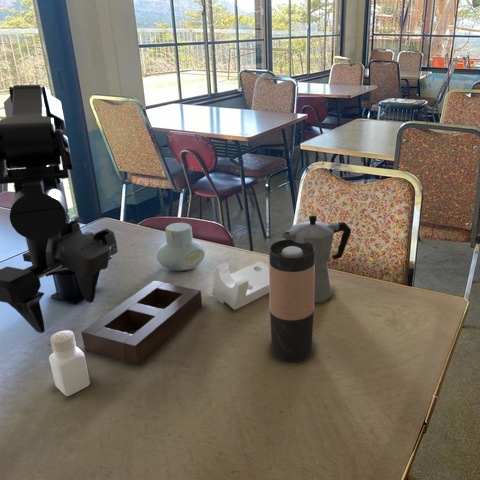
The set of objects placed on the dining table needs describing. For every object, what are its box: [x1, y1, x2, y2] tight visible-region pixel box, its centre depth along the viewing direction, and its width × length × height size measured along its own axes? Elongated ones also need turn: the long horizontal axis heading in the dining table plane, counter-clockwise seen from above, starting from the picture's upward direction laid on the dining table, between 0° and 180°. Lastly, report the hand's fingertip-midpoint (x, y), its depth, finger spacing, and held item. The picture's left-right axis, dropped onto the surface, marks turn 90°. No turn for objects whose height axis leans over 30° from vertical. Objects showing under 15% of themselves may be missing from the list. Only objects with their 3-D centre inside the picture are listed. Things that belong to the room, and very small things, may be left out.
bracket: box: [211, 260, 269, 311], centre depth 102 cm, size 13×7×8 cm, turn 139°
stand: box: [81, 280, 203, 366], centre depth 90 cm, size 11×20×4 cm, turn 161°
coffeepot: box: [281, 214, 352, 304], centre depth 101 cm, size 15×9×18 cm, turn 113°
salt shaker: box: [48, 330, 91, 397], centre depth 74 cm, size 4×4×10 cm
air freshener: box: [156, 222, 206, 272], centre depth 113 cm, size 11×8×10 cm
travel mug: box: [268, 239, 315, 363], centre depth 82 cm, size 8×8×20 cm
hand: (66, 316), depth 71 cm, fingers open, 9 cm apart
